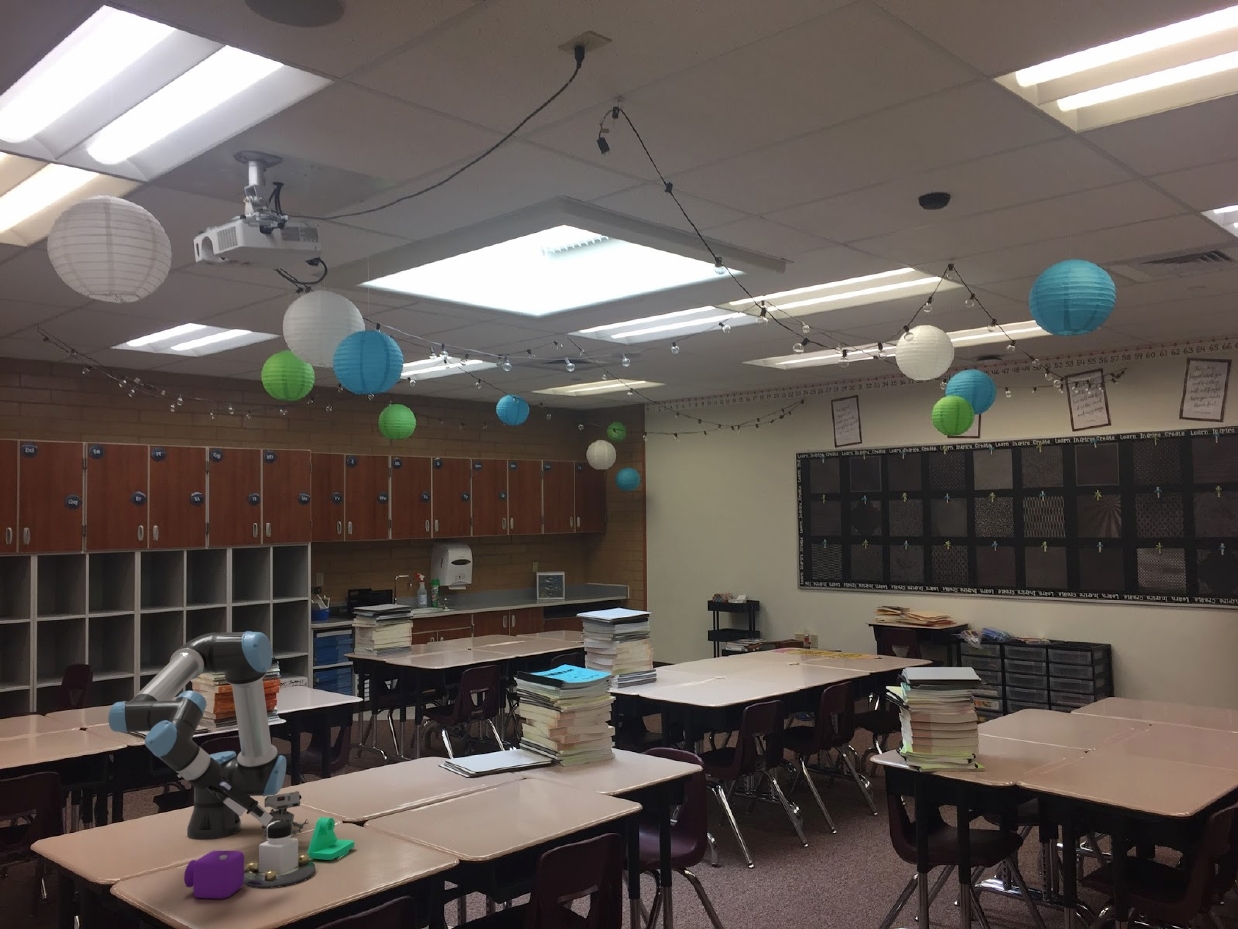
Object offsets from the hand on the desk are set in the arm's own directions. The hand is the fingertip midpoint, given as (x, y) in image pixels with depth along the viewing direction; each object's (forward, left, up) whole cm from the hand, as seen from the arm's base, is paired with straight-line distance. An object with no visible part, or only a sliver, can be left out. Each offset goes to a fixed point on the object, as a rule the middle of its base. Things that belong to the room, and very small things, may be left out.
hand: (256, 816), depth 248 cm
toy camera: (-1, -11, -17) cm, 20 cm away
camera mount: (-4, +24, -17) cm, 30 cm away
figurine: (-22, +20, -17) cm, 34 cm away
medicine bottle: (0, +6, -15) cm, 17 cm away
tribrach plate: (0, +6, -17) cm, 18 cm away
